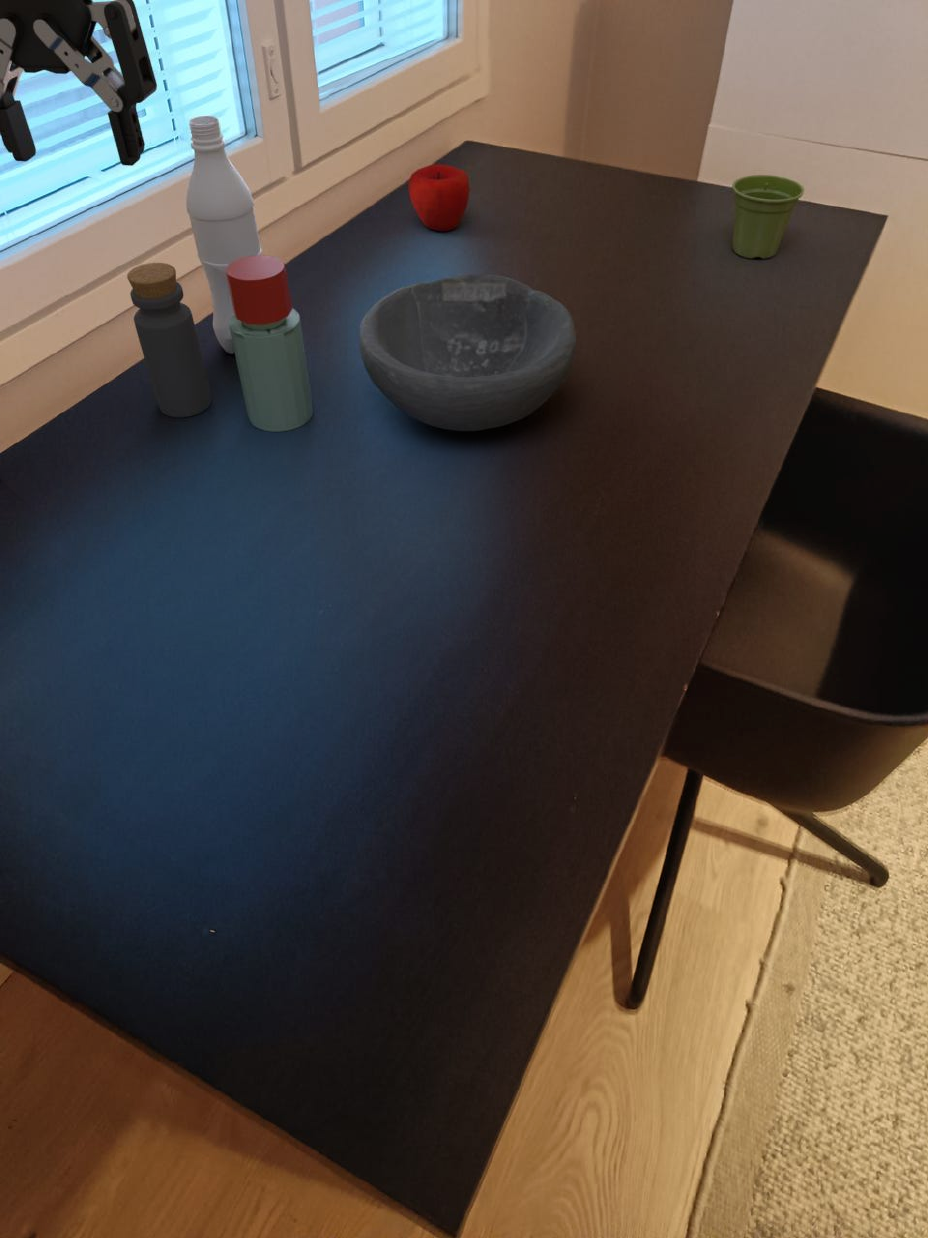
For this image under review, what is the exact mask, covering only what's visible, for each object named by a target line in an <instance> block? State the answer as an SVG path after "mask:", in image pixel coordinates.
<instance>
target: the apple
mask: <svg viewBox="0 0 928 1238" xmlns="http://www.w3.org/2000/svg"><path fill="white" fill-rule="evenodd" d="M408 195H409V199H410V201H411V204H412V206H413V208H414V211H415V212H416V214H417V216H418V218H419V219H420V221H421V222H422V223H423V225H424V226H425V227H426V228H427V229H429V230H434V231H437V232H438V231H439V232H448V231H452V230H454V229H455V228H457V226H458V225H459V224H460V222H461V220H462V218H463V216H464V214H465V212H466V209H467V207H468V203H469V198H470V183H469V177H468V174H467V173H466V171H464V170H462V169H460V168H457V167H454V166H451V165H446V164H430V165H427V166H424V167H421V168H418V169H417V170H415V171H414V172H413V173H411V175H410V176H409V179H408Z"/></svg>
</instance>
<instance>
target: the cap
mask: <svg viewBox="0 0 928 1238" xmlns="http://www.w3.org/2000/svg"><path fill="white" fill-rule="evenodd" d="M285 265H286V264H285V262H284V261H283V260H282V259H280V258H278V257H276V256H272V255H267V254H261V255H253V256H247V257H243V258H240V259H237V260H235V261H233V262H231V263H230V264H229V265H228V266H227V268H226V276H227V281H228V286H229V291H230V296H231V301H232V306H233V311H234V314H235V316H236V318H237V320H239V321H241V322H244V323H246V324H254V325H265V324H270V323H275V322H278V321H280V320H282V319H284V318H286V317H288V316H289V314H290V312H291V310H292V308H293V305H292V299H291V292H290V286H289V280H288V279H289V278H288V272H287V269H286V266H285Z"/></svg>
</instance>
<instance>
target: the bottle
mask: <svg viewBox="0 0 928 1238" xmlns="http://www.w3.org/2000/svg"><path fill="white" fill-rule="evenodd" d="M126 277H127V280H128V282H129V283H130V286H131V288H132V289H131V291H130V294H129V295H130V299H131V302H132V305H134V306H135V307H136V308H137V309H138V310H137V311H136V312H135V314H134V316H133V322H134V327H135V331H136V333H137V337H138V340H139V341H138V342H139V345H140V347H141V351H142V355H143V358H144V362H145V364H146V365H145V366H146V368H147V372H148V375H149V379H150V382H151V385H152V389H153V392H154V397H155V399H156V402H157V406H158V409H159V410H160V412H161V413H162V414H164V415H165V416H168V417H172V418H189V417H192V416H196V415H199V414H201V413H203V412H204V411H206V410H208V408H210V406H211V404H212V401H213V400H212V399H213V398H212V393H211V388H210V384H209V380H208V375H207V372H206V368H205V362H204V359H203V355H202V350H201V345H200V342H199V338H198V334H197V329H196V324H195V320H194V317H193V313H192V310H191V308H190V307H189V306H188V305H186V304H185V303H183V302H181V301H182V300H183V299H184V290H183V287H182V285H181V284H180V283H179V282H178V281H177V271H176V268H175V267H174V266H173V265H171V264H168V263H166V262H149V263H144V264H140V265H137V266H135V267H132V269H130V270H129V271H128V272H127V275H126Z"/></svg>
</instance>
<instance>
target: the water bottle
mask: <svg viewBox="0 0 928 1238" xmlns="http://www.w3.org/2000/svg"><path fill="white" fill-rule="evenodd" d="M188 126H189V129H190V130H189V131H190V134H191V137H190V141H191V142H190V147H191V149H192V150H193V152H194V161H193V168H192V171H191V175H190V178H189V182H188V186H187V190H186V196H185V197H186V198H185V199H186V200H185V201H186V202H185V205H186V211H187V214H188V216H189V220H190V225H191V230H192V234H193V238H194V242H195V246H196V251H197V258H198V260H199V262H200V264H201V267H202V269H203V271H204V274H205V277H206V280H207V283H208V287H209V292H210V296H211V301H212V328H213V332H214V335H215V337H216V339H217V341H218V343H219V345H220V346H221V348H222V349H223V350H224V351H225V353H228V354H231V355H234V354H235V352H234V347H233V342H232V337H231V332H230V328H229V322H230V318H231V317H232V316H233V315H234V311H233V306H232V301H231V296H230V291H229V286H228V281H227V276H226V268H227V266H228V265H229V264H230V263H231V262H233V261H235V260H237V259H240V258H243V257H247V256H253V255H263V254H262V252H263V250H262V247H261V243H260V236H259V230H258V224H257V219H256V214H255V212H256V211H255V202H254V198H253V195H252V193H251V190H250V188H249V187H248V184H247V183H246V182H245V180H244V179H243V177H242V176H241V174H240V173H239V172H238V170H237V169H236V168H235V166H234V164H233V163H232V161H231V160H230V157H229V156H228V154H227V151H226V148H225V147H226V145H227V142H226V141H227V140H225V139H224V135H223V133H222V131H221V129H222V128H221V123H220V120H219V118H218V117H217V116H213V115H199V116H195V117H193V118H190V119H189V120H188Z"/></svg>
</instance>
